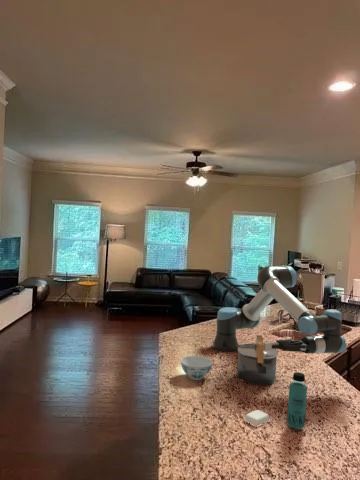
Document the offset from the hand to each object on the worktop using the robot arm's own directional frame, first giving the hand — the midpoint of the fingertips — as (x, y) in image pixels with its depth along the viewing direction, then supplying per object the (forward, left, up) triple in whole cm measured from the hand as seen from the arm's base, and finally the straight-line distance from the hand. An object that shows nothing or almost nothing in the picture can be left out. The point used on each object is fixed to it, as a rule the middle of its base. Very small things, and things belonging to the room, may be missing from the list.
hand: (264, 345), depth 169 cm
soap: (+18, -22, -20) cm, 35 cm away
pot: (-9, +7, -20) cm, 23 cm away
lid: (-8, +6, -8) cm, 13 cm away
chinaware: (-26, -17, -20) cm, 37 cm away
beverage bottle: (+29, -14, -20) cm, 38 cm away
